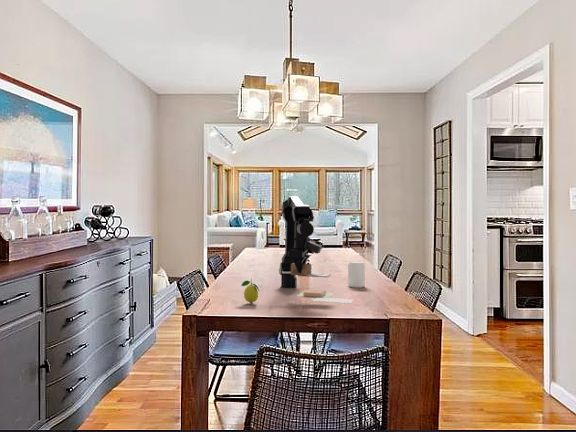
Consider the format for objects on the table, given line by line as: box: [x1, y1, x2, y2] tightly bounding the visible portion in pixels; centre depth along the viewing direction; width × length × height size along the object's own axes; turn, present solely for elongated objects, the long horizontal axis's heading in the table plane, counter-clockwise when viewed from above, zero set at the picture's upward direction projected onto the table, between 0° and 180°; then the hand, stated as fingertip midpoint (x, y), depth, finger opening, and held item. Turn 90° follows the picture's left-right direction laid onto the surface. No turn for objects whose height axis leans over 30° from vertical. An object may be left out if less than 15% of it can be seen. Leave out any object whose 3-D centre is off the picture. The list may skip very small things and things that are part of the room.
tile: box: [302, 288, 327, 298], centre depth 224 cm, size 8×2×8 cm
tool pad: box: [312, 297, 355, 304], centre depth 213 cm, size 16×8×1 cm, turn 73°
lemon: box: [241, 278, 261, 305], centre depth 206 cm, size 7×6×10 cm
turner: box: [291, 263, 332, 278], centre depth 215 cm, size 16×7×4 cm, turn 71°
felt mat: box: [296, 290, 335, 298], centre depth 225 cm, size 14×12×1 cm
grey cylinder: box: [347, 260, 366, 289], centre depth 250 cm, size 8×8×12 cm
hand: (301, 272), depth 216 cm, fingers closed on turner, 3 cm apart
